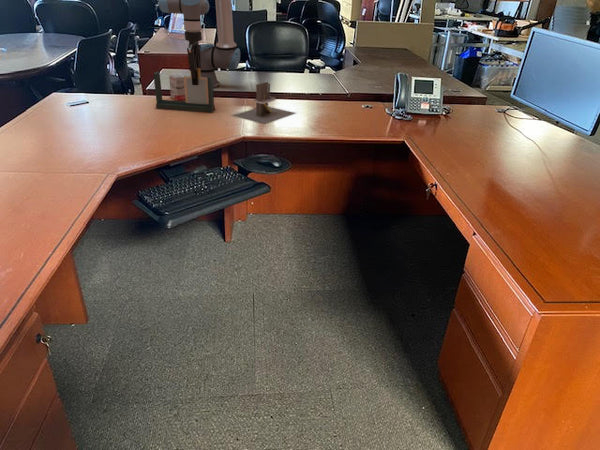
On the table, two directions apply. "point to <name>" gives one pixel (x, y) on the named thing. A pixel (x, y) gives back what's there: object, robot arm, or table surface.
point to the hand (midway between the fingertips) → (196, 84)
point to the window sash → (196, 89)
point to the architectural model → (263, 107)
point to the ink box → (177, 87)
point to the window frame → (182, 104)
